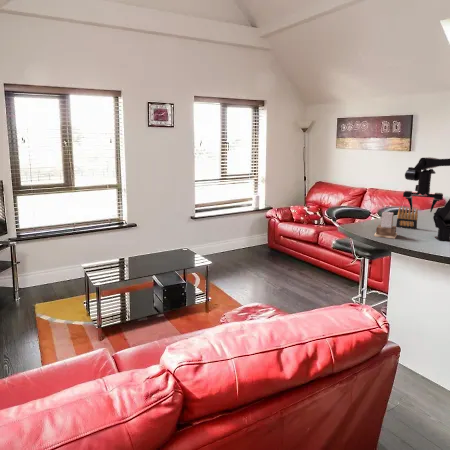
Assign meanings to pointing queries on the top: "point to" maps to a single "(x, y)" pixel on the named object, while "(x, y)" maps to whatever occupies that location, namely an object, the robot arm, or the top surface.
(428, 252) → the top surface
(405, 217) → the ammunition clip
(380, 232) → the socket block
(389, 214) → the metal bar
